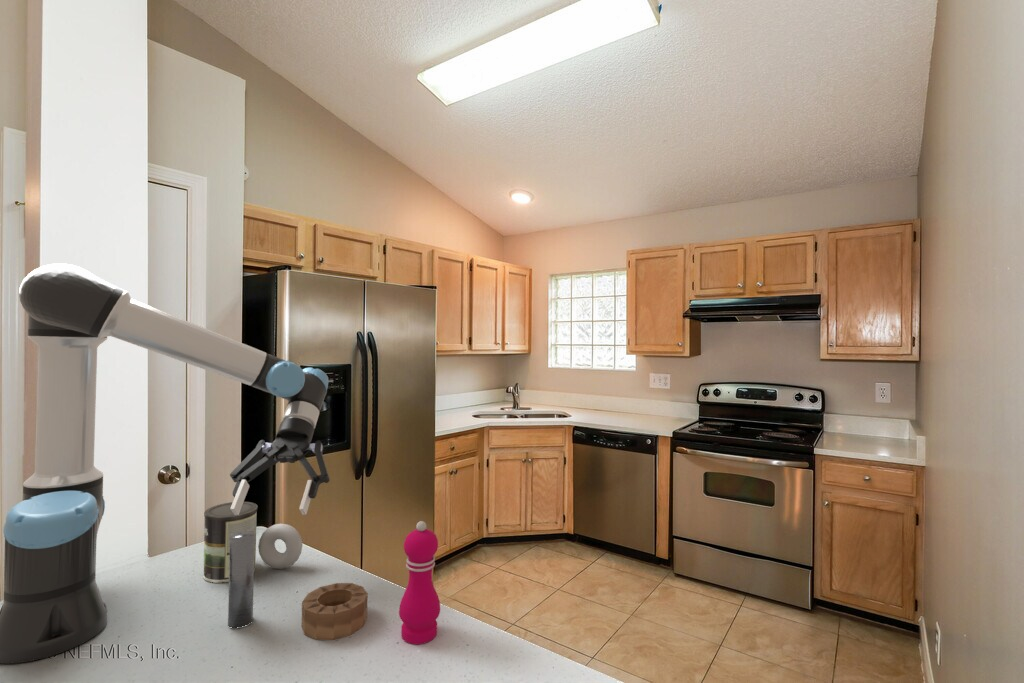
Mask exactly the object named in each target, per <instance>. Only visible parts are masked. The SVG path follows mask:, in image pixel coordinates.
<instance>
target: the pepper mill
mask: <svg viewBox="0 0 1024 683" xmlns="http://www.w3.org/2000/svg"><path fill="white" fill-rule="evenodd" d="M438 548H439V540H438V537H437V535H436V534H435V532H434V531H432V530H430V529H428V528H427V523H426V522H425V521H423V520H420V521H418V522H417V523H416V528H415V529H414V530H412V531H410V532H409V533H408V534H407V535H406V536H405V539H404V542H403V550H404V553H405V555H406V556H407V558H406V560H405V561H406V564H405V567H406V569H407V570H408V573H409V575H408V583H407V586H406V588H405V590H404V593H403V596H402V597H401V598H400V599H401V600H400V603H399V609H398V616H399V619H400V620H401V621H402V624H401V627H400V628H401V632H400V633H401V638H402V640H403V641H404V642H406V643H408V644H411V645H422V644H426V643H428V642H431V641H432V640H434V639H435V638H436V636H437V634H438V621H437V619H438V618H439V615H440V613H441V602H440V597H439V595H438V593H437V591H436V589H435V587H434V583H433V576H432V573H433V568H434V567H435V565H436V562H435V561H436V557H435V554H436V553H437V551H438Z"/></svg>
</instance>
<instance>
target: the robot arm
mask: <svg viewBox="0 0 1024 683" xmlns="http://www.w3.org/2000/svg"><path fill="white" fill-rule="evenodd" d="M18 298H19V302H20V304H21V306H22V308H23V310H25V312H26V313H27V314H28V315H27V339H29V340H30V341H31V342H33V343H34V344H35V345H36V346H37V347H38V352H37V353H38V355H37V356H38V357H37V383H36V384H37V385H36V419H35V423H36V424H35V427H36V428H35V448H34V449H35V450H34V452H35V454H34V472H33V474H32V475H30V477H28V478H27V479H26V480H25V481H23V484H22V501H20V502H18V503H16V504H15V505H14V506H12V507H11V508H10V509H9V510H8V512H7V514H6V518H5V523H4V526H3V529H2V532H3V538H4V567H3V568H4V569H3V570H4V571H3V572H4V573H3V602H2V606H1V607H0V664H20V663H21V664H22V663H28V662H31V661H32V662H33V661H36V660H37V661H38V660H43V659H46V658H49V657H52V656H55V655H59V654H61V653H63V652H66V651H69V650H71V649H74V648H76V647H78V646H80V645H82V644H84V643H86V642H88V641H89V640H91V639H93V638H94V637H95V636H97V635H98V634H100V632H102V630H103V629H104V628H105V627H106V626H107V622H108V607H107V605H106V603H105V602H104V600H103V597H102V595H101V592H100V589H99V587H98V584H97V582H96V580H97V579H96V578H97V577H96V569H97V568H96V567H97V566H96V565H97V539H98V532H99V528H100V524H101V521H102V520H103V516H104V514H105V508H106V506H105V504H106V502H105V499H104V494H103V493H104V491H103V490H104V473H103V472H102V471H101V470H99V469H98V468H97V467H95V466H94V465H95V437H96V436H95V433H96V408H97V407H96V401H97V400H96V399H97V373H98V372H97V368H98V367H97V366H98V347H99V346H100V345H101V344H103V343H104V342H106V341H107V340H108V337H112V338H115V339H118V340H121V341H123V342H127V343H129V344H132V345H136V346H138V347H141V348H143V349H146V350H149V351H151V352H152V351H153V352H155V353H157V354H160V355H162V356H165V357H168V358H171V359H174V360H177V361H180V362H183V363H184V364H185V363H186V364H188V365H192V366H194V367H197V368H199V369H202V370H204V371H208V372H211V373H213V374H217V375H219V376H222V377H226V378H228V379H230V380H233V381H236V382H239V383H242V384H244V385H246V386H247V385H248V386H250V387H252V388H255V389H258V390H261V391H262V392H265V393H269V394H272V395H273V396H275V397H277V398H281V399H284V400H286V401H288V402H287V404H286V409H285V410H284V413H283V416H282V419H281V422H280V424H279V427H278V429H277V432H276V434H275V439H274V440H273V441H272V442H265V440H264V439H261V440H259V441H258V443H257V444H256V446H255V448H253V450H252V451H251V452H250V453H249V454H248V455H247V456H246V457H245V458H244V459H243V460H242V461H241V462H240V463H239V464H238V465H237V466H236V467H235V468H234V469H233V470H232V471H231V472H230V473H229V476H230V478H231V479H232V481H233V482H234V483H235V486H234V488H233V490H232V496H233V497H234V498H233V501H232V502H233V503H232V505H231V508H230V509H231V511H232V512H233V513H234V515H239V512H240V510H241V507H242V505H243V502H245V499H246V496H247V494H248V491H249V489H250V484H249V483H250V482H251V481H252V480H254V479H255V478H257V477H258V476H259V475H261V474H262V473H264V471H266V470H268V468H270V467H271V466H275V465H276V464H278V463H280V464H284V463H290V464H296V463H295V462H299V463H300V465H301V466H302V467H303V469H304V471H305V472H306V473H307V475H308V477H309V478H310V479H307V481H306V485H305V488H304V490H303V491H304V492H303V495H302V499H301V502H300V504H299V507H298V508H299V509H298V510H299V511H300V513H301V516H307V513H308V510H309V507H310V503H311V500H312V499H315V498H316V497H317V494H318V491H319V487H320V485H321V484H323V483H324V484H328V483H329V482H330V480H331V479H330V475H329V472H328V470H327V466H326V462H325V459H324V456H323V455H324V454H323V453H324V445H323V443H322V440H316V441H315V443H314V442H313V443H311V442H312V439H313V436H314V433H315V429H316V426H317V422H318V419H319V416H320V412H321V409H322V407H323V403H324V400H325V399H326V398H325V397H326V396H327V393H328V387H329V377H328V375H327V374H326V372H324V371H323V370H321V369H320V368H313V367H305V368H302V367H301V366H299V365H298V364H297V363H295V362H293V361H291V360H286V359H283V358H280V357H277V356H276V355H272V354H270V353H267V352H265V351H263V350H260V349H258V348H256V347H253V346H251V345H248V344H247V343H242V342H241V341H238V340H236V339H233V338H231V337H229V336H225V335H223V334H220V333H218V332H215V331H213V330H210V329H208V328H206V327H203V326H201V325H198V324H195V323H193V322H190V321H188V320H185V319H183V318H180V317H178V316H176V315H173V314H170V313H168V312H165V311H162V310H160V309H158V308H155V307H152V306H151V305H148V304H146V303H143V302H140V301H139V300H138V301H137V300H136V299H133V298H132V297H131V296H130V293H129V292H128V290H125V289H123V288H120V287H118V286H116V285H114V284H111V283H110V282H108V281H105V280H104V279H101V278H100V277H98V276H96V275H95V274H93V273H91V272H90V271H88V270H86V269H85V268H82V267H81V266H77V265H74V264H68V263H51V264H46V265H42V266H40V267H38V268H35V269H33V270H32V271H31V272H30V273H29V272H28V274H27V276H25V277H24V278H23V280H22V282H21V284H20V287H19V292H18ZM310 451H312V453H313V454H315V458H316V462H317V464H318V468H319V472H320V474H317V471H315V470H314V468H313V466H312V465H311V464H310V462H309V461H308V459H307V458H306V456H305V455H306V454H308V452H310ZM264 455H265V456H264ZM263 456H264V457H263ZM273 457H274V458H273Z"/></svg>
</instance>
